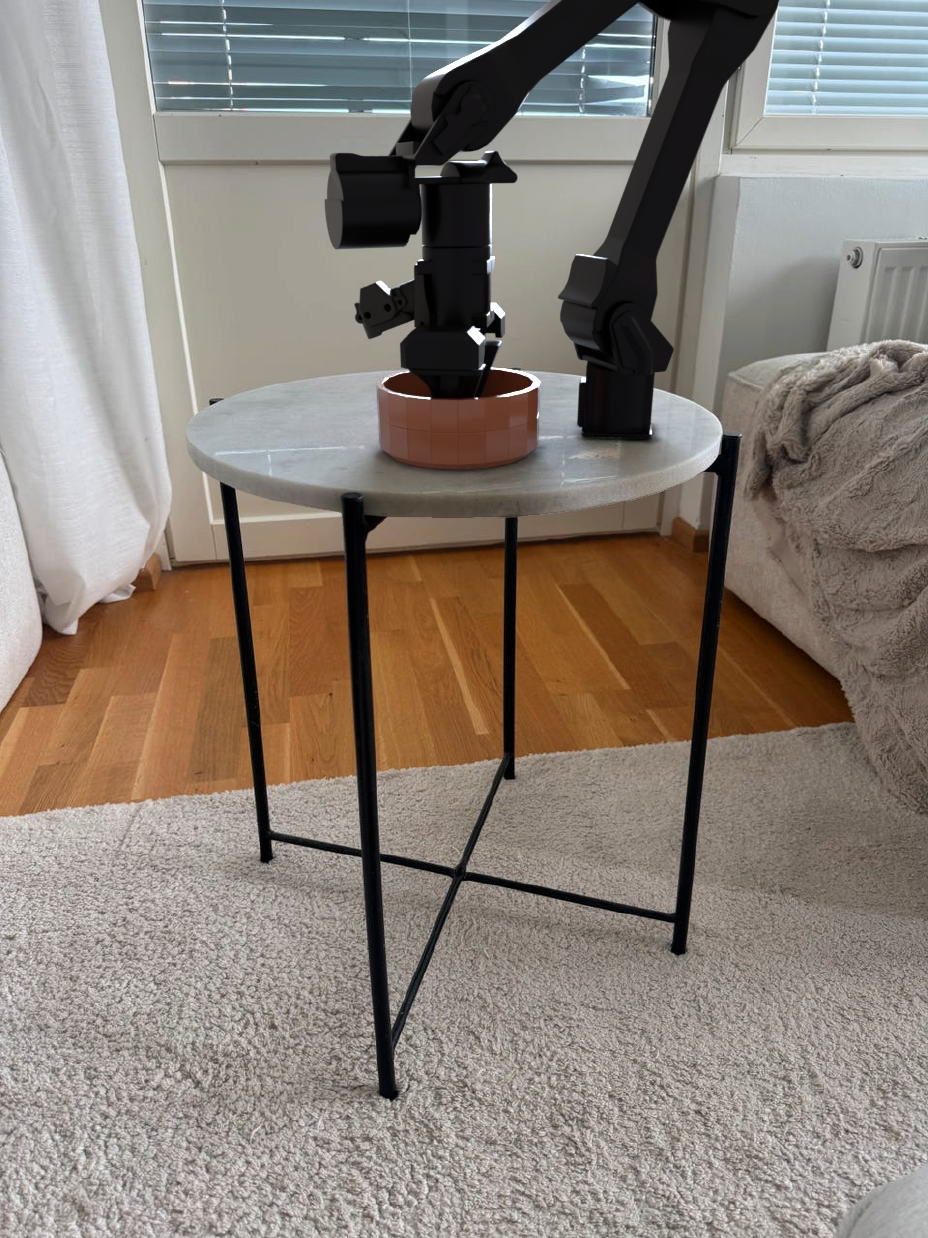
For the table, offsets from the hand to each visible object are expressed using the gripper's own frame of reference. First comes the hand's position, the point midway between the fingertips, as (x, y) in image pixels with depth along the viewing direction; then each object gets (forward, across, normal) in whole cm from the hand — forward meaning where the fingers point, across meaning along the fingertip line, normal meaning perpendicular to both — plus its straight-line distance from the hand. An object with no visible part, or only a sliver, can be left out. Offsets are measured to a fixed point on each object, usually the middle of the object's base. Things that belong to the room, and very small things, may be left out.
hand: (458, 433), depth 82 cm
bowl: (+1, 0, 0) cm, 1 cm away
